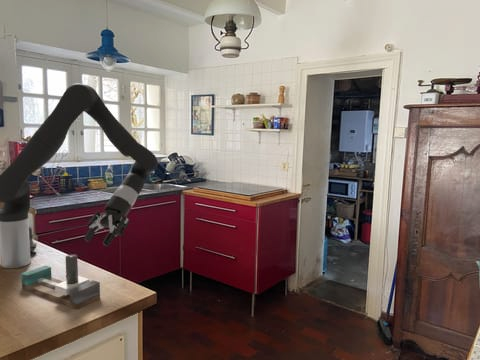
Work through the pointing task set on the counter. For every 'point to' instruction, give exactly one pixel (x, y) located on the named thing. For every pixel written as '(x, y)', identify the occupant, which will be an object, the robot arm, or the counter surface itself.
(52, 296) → the rail
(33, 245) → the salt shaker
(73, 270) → the carriage
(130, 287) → the counter surface
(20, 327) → the counter surface
